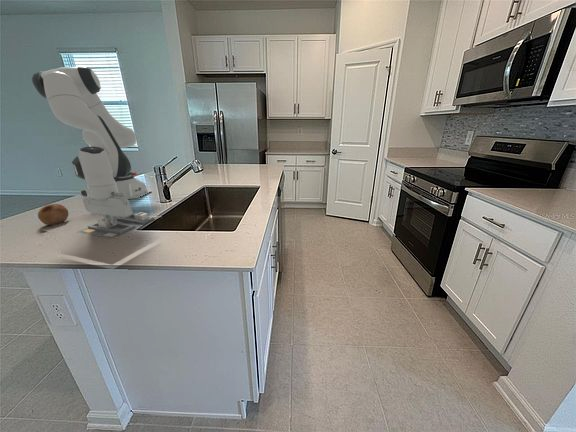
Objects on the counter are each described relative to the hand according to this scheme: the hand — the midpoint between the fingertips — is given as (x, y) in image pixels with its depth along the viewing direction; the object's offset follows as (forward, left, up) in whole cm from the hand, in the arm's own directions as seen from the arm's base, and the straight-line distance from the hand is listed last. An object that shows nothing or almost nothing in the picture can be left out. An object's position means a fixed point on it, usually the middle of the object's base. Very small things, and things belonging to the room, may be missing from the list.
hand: (113, 224), depth 97 cm
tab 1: (0, -3, -1) cm, 4 cm away
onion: (+2, -30, -3) cm, 30 cm away
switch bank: (-5, -1, -3) cm, 5 cm away
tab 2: (-10, +4, -1) cm, 11 cm away
